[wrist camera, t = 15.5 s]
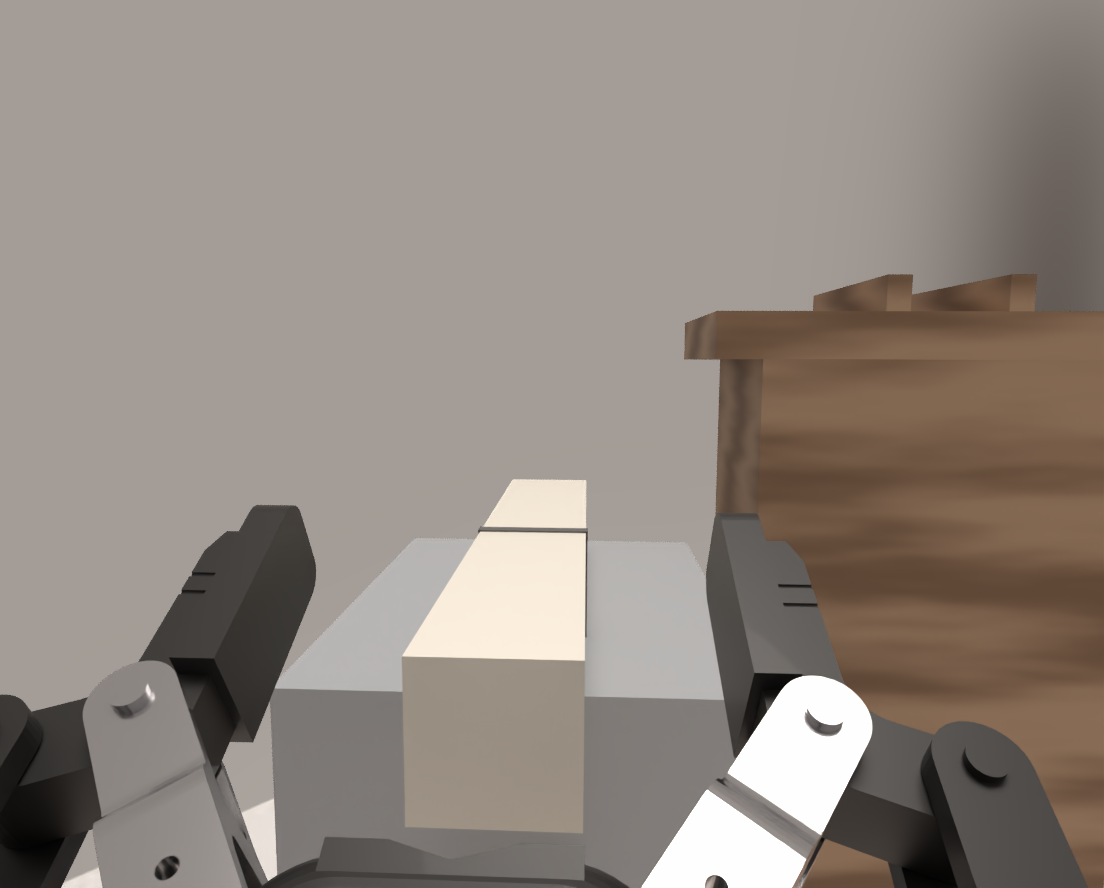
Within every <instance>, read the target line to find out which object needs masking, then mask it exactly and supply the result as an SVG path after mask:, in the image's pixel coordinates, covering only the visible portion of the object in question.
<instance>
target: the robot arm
mask: <svg viewBox="0 0 1104 888" xmlns="http://www.w3.org/2000/svg"><path fill="white" fill-rule="evenodd" d="M315 580H316V565H315V560H314V556H313V553H312V549H311V546H310V543H309V539H308V536H307V533H306V529H305V526H304V523H303V519H302V516H301V513H300V511H299V509H298V507H296V506H288V505H284V506H283V505H282V506H281V505H256V506H254V507H253V508H252V510H251V511H250V512H249V514H248V516H247V518H246V519H245V521H244V523H243V525H242V527H241V528H240V530H239V532H238V531H237V532H236V531H234V532H233V531H227V532H226V533H224V534H223V535H222V536H221V537H220V538H219V539H217V540H216V541H215V542H214V543H213V544H212V545H211V546H210V547H208V548H207V549H206V550H205V551H204V553H203V554H202V556H201V558H200V559H199V561H198V563H197V565H196V566H195V568H194V570H193V571H192V576H190V577H189V578H188V580H187V581H186V583H185V585H184V587H183V588H182V593H181V594H179V595H178V596H177V598H176V600H175V602H174V603H173V605H172V607H171V608H170V610H169V612H168V613H167V615H166V617H165V618H164V620H163V622H162V624H161V625H160V627H159V628H158V630H157V632H156V634H155V635H154V637H153V639H152V640H151V642H150V644H149V645H148V647H147V649H146V651H145V652H144V654H143V656H142V657H141V659H140V660H139V662H137V663H133V664H130V665H127V666H125V667H122V668H121V669H119V670H117V671H115V672H113V673H112V674H110V675H109V676H107V677H106V678H105V679H104V680H102V682H100V683H99V684H98V685H97V686H96V687H95V688H94V690H93V691H92V692H91V694H90V695H89V697H87V698H84V699H81V700H77V701H73V702H69V703H65V704H61V705H57V706H53V707H49V708H45V709H41V710H37V711H33V712H31V711H30V709H29V708H28V707H27V705H26V704H25V703H24V702H23V701H22V700H21V699H19V698H18V697H16V696H11V695H0V888H61V886H62V884H63V882H64V880H65V878H66V876H67V874H68V872H69V870H70V868H71V866H72V864H73V861H74V859H75V857H76V855H77V853H78V851H79V849H80V847H81V845H82V843H83V841H84V838H85V837H86V834H87V832H88V830H91V829H93V837H94V843H95V849H96V854H97V859H98V865H99V870H100V876H101V881H102V887H103V888H630V887H628V886H627V885H626V884H624V883H623V882H621V881H619V880H618V879H616V878H615V877H613V876H611V875H609V874H607V873H605V872H603V871H601V870H599V869H597V868H594V867H591V866H588V865H585V864H584V862H585V845H558V844H528V843H519V844H515V845H511V846H507V847H502V848H498V849H494V850H490V851H486V852H482V853H477V854H473V855H469V856H465V857H461V858H455V859H448V858H444V857H441V856H438V855H435V854H432V853H429V852H426V851H423V850H420V849H417V848H414V847H411V846H408V845H405V844H402V843H399V842H396V841H393V840H390V839H377V838H346V837H325V839H324V842H323V846H322V849H321V853H320V856H319V858H315V859H312V860H309V861H306V862H304V863H301V864H298V865H296V866H294V867H292V868H290V869H288V870H286V871H284V872H282V873H280V874H279V875H277V876H275V877H274V878H272V879H271V880H269V881H268V880H267V878H266V876H265V873H264V871H263V869H262V867H261V865H260V862H259V860H258V858H257V855H256V853H255V850H254V848H253V845H252V842H251V839H250V836H249V834H248V831H247V828H246V825H245V822H244V819H243V817H242V814H241V811H240V808H239V805H238V802H237V800H236V797H235V794H234V791H233V788H232V786H231V783H230V780H229V777H228V774H227V771H226V769H225V766H224V764H223V762H222V759H223V756H224V754H225V752H226V749H227V747H228V745H229V742H253V741H254V738H255V736H256V733H257V731H258V728H259V726H260V723H261V721H262V718H263V716H264V713H265V711H266V708H267V706H268V703H269V701H270V698H271V696H272V693H273V691H274V688H275V686H276V683H277V681H278V678H279V676H280V673H281V671H282V668H283V666H284V663H285V661H286V658H287V656H288V653H289V651H290V648H291V646H292V643H293V641H294V638H295V636H296V633H297V631H298V628H299V626H300V623H301V621H302V618H303V616H304V613H305V611H306V609H307V606H308V603H309V601H310V598H311V596H312V593H313V590H314V586H315ZM706 595H707V603H708V609H709V615H710V621H711V627H712V632H713V638H714V644H715V650H716V656H717V662H718V667H719V673H720V679H721V685H722V691H723V697H724V702H725V708H726V714H727V720H728V726H729V732H730V737H731V743H732V749H733V755H734V758H737V759H736V761H735V762H734V764H733V766H732V767H731V769H730V770H729V772H728V773H727V774H726V776H725V777H724V778H723V779H720V778H718V779H716V780H715V781H714V782H713V783H712V784H711V785H710V787H709V788H708V789H707V791H706V792H705V793H704V795H703V796H702V798H701V799H700V801H699V802H698V804H697V805H696V807H695V808H694V810H693V811H692V813H691V814H690V816H689V817H688V819H687V820H686V822H685V823H684V825H683V826H682V828H681V829H680V831H679V832H678V834H677V835H676V837H675V838H674V840H673V841H672V843H671V844H670V846H669V847H668V849H667V850H666V852H665V853H664V855H663V856H662V858H661V859H660V861H659V862H658V864H657V865H656V867H655V868H654V870H653V871H652V873H651V874H650V876H649V877H648V879H647V880H646V882H645V883H644V885H643V886H642V888H802V886H803V884H804V882H805V880H806V878H807V876H808V874H809V872H810V870H811V868H812V866H813V864H814V862H815V861H816V859H817V857H818V855H819V853H820V851H821V849H822V847H823V845H824V843H825V841H826V839H827V840H830V841H832V842H835V843H838V844H840V845H843V846H846V847H849V848H851V849H854V850H857V851H859V852H862V853H865V854H868V855H870V856H873V857H876V858H879V859H881V860H884V861H887V862H888V865H889V869H890V873H891V877H892V881H893V884H894V888H1088V886H1087V884H1086V881H1085V879H1084V877H1083V875H1082V873H1081V870H1080V868H1079V866H1078V864H1077V861H1076V859H1075V857H1074V855H1073V853H1072V850H1071V848H1070V846H1069V844H1068V842H1067V839H1066V837H1065V835H1064V833H1063V831H1062V828H1061V826H1060V824H1059V822H1058V819H1057V817H1056V815H1055V813H1054V811H1053V808H1052V806H1051V804H1050V802H1049V800H1048V797H1047V795H1046V793H1045V791H1044V789H1043V786H1042V784H1041V782H1040V780H1039V777H1038V775H1037V773H1036V771H1035V769H1034V767H1033V765H1032V763H1031V761H1030V760H1029V758H1028V757H1027V756H1026V754H1025V753H1024V752H1023V751H1022V750H1021V749H1020V748H1019V747H1018V746H1017V745H1016V744H1015V743H1014V742H1013V741H1012V740H1010V739H1009V738H1008V737H1006V736H1005V735H1003V734H1002V733H1000V732H998V731H996V730H995V729H993V728H990V727H988V726H985V725H982V724H979V723H975V722H968V721H957V722H951V723H949V724H946V725H944V726H943V727H941V728H940V729H939V730H938V731H937V732H936V733H935V735H934V734H930V733H927V732H924V731H921V730H918V729H914V728H911V727H908V726H905V725H901V724H898V723H895V722H892V721H890V720H887V719H885V718H883V717H881V716H879V715H877V714H875V713H873V712H872V711H870V710H869V709H867V707H866V705H865V704H864V703H863V701H862V700H861V699H860V698H859V697H858V696H857V695H856V694H855V693H854V692H853V691H852V690H851V689H849V688H848V687H847V686H846V685H845V683H844V681H843V678H842V676H841V673H840V670H839V667H838V664H837V661H836V658H835V655H834V652H833V649H832V645H831V642H830V639H829V636H828V633H827V630H826V627H825V624H824V621H823V618H822V615H821V612H820V609H819V608H818V606H817V605H818V603H817V600H816V597H815V594H814V591H813V589H812V588H811V582H810V579H809V576H808V573H807V570H806V566H805V563H804V561H803V560H802V559H801V558H800V557H799V556H798V554H797V553H796V552H795V551H794V550H793V549H792V548H791V546H790V545H789V544H788V543H787V542H786V541H766V540H765V537H764V533H763V529H762V526H761V522H760V519H759V516H758V515H757V514H756V513H717V514H716V516H715V519H714V526H713V532H712V538H711V544H710V551H709V557H708V564H707V571H706Z"/></svg>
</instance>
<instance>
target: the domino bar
mask: <svg viewBox="0 0 1104 888" xmlns="http://www.w3.org/2000/svg"><path fill="white" fill-rule="evenodd" d="M587 533H588V530H587V528H586V480H520V479H519V480H517V479H515V480H514V479H513V480H512V482H511V483H510V485H509V486H508V488H507V490H506V491H505V493H504V494H503V496H502V498H501V499H500V501H499V502H498V504H497V505H496V507H495V509H494V510H493V512H492V513H491V515H490V517H489V518H488V520H487V521H486V523H485V525H484V526H483V527H480V528H479V530H478V536H477V537H476V539H475V541H474V542H473V544H472V545H471V547H470V548H469V550H468V552H467V553H466V555H465V556H464V558H463V560H462V561H461V563H460V564H459V566H458V568H457V569H456V571H455V572H454V574H453V576H452V577H451V579H450V580H449V582H448V583H447V585H446V587H445V588H444V590H443V591H442V593H441V595H440V596H439V598H438V599H437V601H436V603H435V604H434V606H433V607H432V609H431V611H430V612H429V614H428V615H427V617H426V619H425V620H424V622H423V623H422V625H421V626H420V628H419V630H418V631H417V633H416V634H415V636H414V638H413V639H412V641H411V642H410V644H409V646H408V647H407V649H406V650H405V652H404V654H403V655H402V693H403V743H404V794H405V827H416V828H445V829H473V830H502V831H531V832H559V833H583V797H584V694H585V637H587V541H588V540H587V539H588V537H587Z"/></svg>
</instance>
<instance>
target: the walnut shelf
mask: <svg viewBox="0 0 1104 888" xmlns="http://www.w3.org/2000/svg"><path fill="white" fill-rule="evenodd" d="M1036 281H1037V274H1030V275H1029V274H1015V275H1013V274H1012V275H1007V276H1002V277H997V278H992V279H987V280H982V281H977V282H973V283H968V284H963V285H958V286H953V287H948V288H943V289H938V290H934V291H928V292H924V293H919V294H914V295H912V282H913V275H885V276H882V277H878V278H875V279H871V280H868V281H864V282H861V283H857V284H854V285H850V286H847V287H843V288H840V289H836V290H833V291H829V292H826V293H822V294H819V295H815V296H814V302H813V311H716V312H713V313H711V314H708V315H705V316H703V317H700V318H698V319H695V320H692V321H690V322H687V323H685V354H684V359H720V387H719V420H718V455H717V486H716V487H717V488H716V514H717V513H756V514H757V515H758V516H759V519H760V522H761V526H762V529H763V533H764V537H765V540H766V541H786V542H787V543H788V544H789V545H790V546H791V548H792V549H793V550H794V551H795V552H796V553H797V554H798V556H799V557H800V558H801V559H802V560H803V561H804V563H805V566H806V570H807V573H808V576H809V579H810V582H811V588H812V589H813V591H814V594H815V597H816V600H817V603H818V605H817V606H818V608H819V609H820V612H821V615H822V618H823V621H824V624H825V627H826V630H827V633H828V636H829V639H830V642H831V645H832V649H833V652H834V655H835V658H836V661H837V664H838V667H839V670H840V673H841V676H842V678H843V681H844V683H845V685H846V686H847V687H848V688H849V689H851V690H852V691H853V692H854V693H855V694H856V695H857V696H858V697H859V698H860V699H861V700H862V701H863V703H864V704H865V705H866V707H867V709H869V710H870V711H872V712H873V713H875V714H877V715H879V716H881V717H883V718H885V719H887V720H890V721H892V722H895V723H898V724H901V725H905V726H908V727H911V728H914V729H918V730H921V731H924V732H927V733H930V734H934V735H935V733H936V732H937V731H938V730H939V729H940V728H941V727H943V726H944V725H946V724H949V723H951V722H957V721H968V722H975V723H979V724H982V725H985V726H988V727H990V728H993V729H995V730H996V731H998V732H1000V733H1002V734H1003V735H1005V736H1006V737H1008V738H1009V739H1010V740H1012V741H1013V742H1014V743H1015V744H1016V745H1017V746H1018V747H1019V748H1020V749H1021V750H1022V751H1023V752H1024V753H1025V754H1026V756H1027V757H1028V758H1029V760H1030V761H1031V763H1032V765H1033V767H1034V769H1035V771H1036V773H1037V775H1038V777H1039V780H1040V782H1041V784H1042V786H1043V789H1044V791H1045V793H1046V795H1047V797H1048V800H1049V802H1050V804H1051V806H1052V808H1053V811H1054V813H1055V815H1056V817H1057V819H1058V822H1059V824H1060V826H1061V828H1062V831H1063V833H1064V835H1065V837H1066V839H1067V842H1068V844H1069V846H1070V848H1071V850H1072V853H1073V855H1074V857H1075V859H1076V861H1077V864H1078V866H1079V868H1080V870H1081V873H1082V875H1083V877H1084V879H1085V881H1086V884H1087V886H1088V888H1103V887H1104V312H1103V311H1092V312H1091V311H1088V312H1087V311H1034V307H1035V294H1036ZM802 888H894V884H893V881H892V877H891V873H890V869H889V865H888V862H887V861H884V860H881V859H879V858H876V857H873V856H870V855H868V854H865V853H862V852H859V851H857V850H854V849H851V848H849V847H846V846H843V845H840V844H838V843H835V842H832V841H830V840H827V839H826V841H825V843H824V845H823V847H822V849H821V851H820V853H819V855H818V857H817V859H816V861H815V862H814V864H813V866H812V868H811V870H810V872H809V874H808V876H807V878H806V880H805V882H804V884H803V886H802Z"/></svg>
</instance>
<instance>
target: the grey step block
mask: <svg viewBox="0 0 1104 888" xmlns="http://www.w3.org/2000/svg"><path fill="white" fill-rule="evenodd" d="M474 541H475V539H435V538H434V539H432V538H428V539H427V538H415V539H414V540H413V541H412V542H411V543H410V544H409V545H408V546H407V547H406V548H405V549H404V550H403V551H402V552H401V553H400V554H399V555H398V556H397V557H396V558H395V560H394V561H393V562H392V563H391V564H390V565H389V566H388V567H387V568H386V569H385V570H384V571H383V572H382V573H381V574H380V575H379V576H378V577H377V578H376V579H375V580H374V581H373V582H372V583H371V584H370V585H369V586H368V587H367V588H366V589H365V590H364V592H363V593H362V594H361V595H360V596H359V597H358V598H357V599H356V600H355V601H354V602H353V603H352V604H351V605H350V606H349V607H348V608H347V609H346V610H345V611H344V612H343V613H342V614H341V615H340V616H339V617H338V618H337V620H335V622H333V623H332V624H331V626H330V627H329V628H328V629H327V630H326V631H325V632H324V633H323V634H322V635H321V636H320V637H319V638H318V639H317V640H316V641H315V642H314V643H313V644H312V645H311V646H310V647H309V648H308V650H306V651H305V652H304V653H303V654H302V655H301V656H300V658H299V659H298V660H297V661H296V662H295V663H294V664H293V665H292V666H291V667H290V668H289V669H288V670H287V671H286V672H285V673H284V674H283V675H282V676H281V677H280V679H278V681H277V683H276V686H275V688H274V691H273V693H272V696H271V698H270V708H271V731H272V757H273V779H274V780H273V781H274V805H275V829H276V853H277V875H279V874H280V873H282V872H284V871H286V870H288V869H290V868H292V867H294V866H296V865H298V864H301V863H304V862H306V861H309V860H312V859H315V858H319V856H320V853H321V849H322V846H323V842H324V839H325V837H346V838H377V839H390V840H393V841H396V842H399V843H402V844H405V845H408V846H411V847H414V848H417V849H420V850H423V851H426V852H429V853H432V854H435V855H438V856H441V857H444V858H448V859H455V858H461V857H465V856H469V855H473V854H477V853H482V852H486V851H490V850H494V849H498V848H502V847H507V846H511V845H515V844H519V843H528V844H558V845H585V862H584V864H585V865H588V866H591V867H594V868H597V869H599V870H601V871H603V872H605V873H607V874H609V875H611V876H613V877H615V878H616V879H618V880H619V881H621V882H623V883H624V884H626V885H627V886H628V887H630V888H642V886H643V885H644V883H645V882H646V880H647V879H648V877H649V876H650V874H651V873H652V871H653V870H654V868H655V867H656V865H657V864H658V862H659V861H660V859H661V858H662V856H663V855H664V853H665V852H666V850H667V849H668V847H669V846H670V844H671V843H672V841H673V840H674V838H675V837H676V835H677V834H678V832H679V831H680V829H681V828H682V826H683V825H684V823H685V822H686V820H687V819H688V817H689V816H690V814H691V813H692V811H693V810H694V808H695V807H696V805H697V804H698V802H699V801H700V799H701V798H702V796H703V795H704V793H705V792H706V791H707V789H708V788H709V787H710V785H711V784H712V783H713V782H714V781H715V780H716V779H718V778H720V779H723V778H724V777H725V776H726V774H727V773H728V772H729V770H730V769H731V767H732V766H733V764H734V762H735V761H736V759H737V758H734V755H733V749H732V743H731V737H730V732H729V726H728V720H727V714H726V708H725V702H724V697H723V691H722V685H721V679H720V673H719V667H718V662H717V656H716V650H715V644H714V638H713V632H712V627H711V621H710V615H709V609H708V603H707V595H706V577H705V576H704V574H703V572H702V570H701V568H700V566H699V565H698V563H697V561H696V559H695V558H694V556H693V554H692V552H691V550H690V548H689V546H688V545H687V543H686V542H684V543H683V542H625V541H587V637H585V694H584V797H583V833H559V832H531V831H502V830H473V829H445V828H416V827H405V794H404V743H403V693H402V655H403V654H404V652H405V650H406V649H407V647H408V646H409V644H410V642H411V641H412V639H413V638H414V636H415V634H416V633H417V631H418V630H419V628H420V626H421V625H422V623H423V622H424V620H425V619H426V617H427V615H428V614H429V612H430V611H431V609H432V607H433V606H434V604H435V603H436V601H437V599H438V598H439V596H440V595H441V593H442V591H443V590H444V588H445V587H446V585H447V583H448V582H449V580H450V579H451V577H452V576H453V574H454V572H455V571H456V569H457V568H458V566H459V564H460V563H461V561H462V560H463V558H464V556H465V555H466V553H467V552H468V550H469V548H470V547H471V545H472V544H473V542H474Z"/></svg>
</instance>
